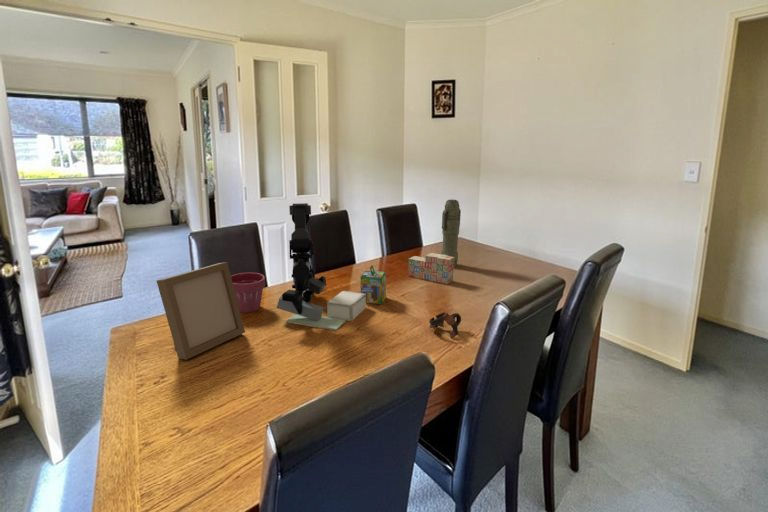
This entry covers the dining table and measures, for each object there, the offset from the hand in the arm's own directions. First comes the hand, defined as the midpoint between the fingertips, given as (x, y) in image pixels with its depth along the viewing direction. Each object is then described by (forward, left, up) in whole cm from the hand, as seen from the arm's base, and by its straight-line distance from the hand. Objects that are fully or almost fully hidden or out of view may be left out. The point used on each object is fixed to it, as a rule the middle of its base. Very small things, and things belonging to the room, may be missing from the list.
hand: (303, 311), depth 154 cm
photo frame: (-22, -27, -4) cm, 35 cm away
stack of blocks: (+33, +64, -4) cm, 72 cm away
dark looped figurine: (+52, +8, -4) cm, 53 cm away
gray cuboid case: (+12, +12, -3) cm, 18 cm away
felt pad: (+5, 0, -3) cm, 6 cm away
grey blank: (-2, 0, -1) cm, 2 cm away
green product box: (+17, +28, -4) cm, 33 cm away
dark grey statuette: (+37, +90, -4) cm, 97 cm away
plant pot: (-26, +2, -4) cm, 26 cm away
